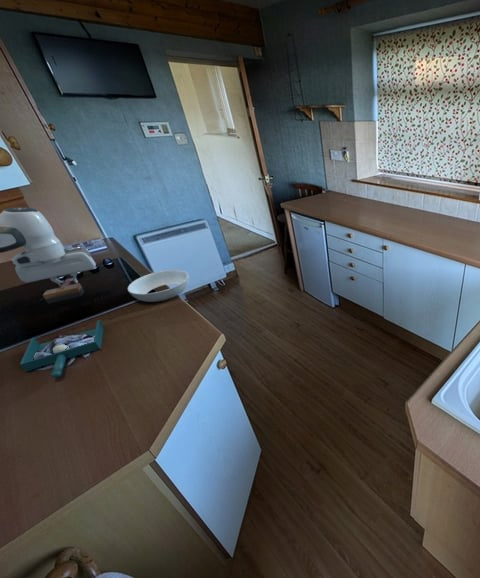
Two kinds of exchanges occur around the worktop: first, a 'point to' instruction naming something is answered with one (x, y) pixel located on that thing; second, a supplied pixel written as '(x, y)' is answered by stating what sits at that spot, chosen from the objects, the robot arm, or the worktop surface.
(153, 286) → the serving bowl
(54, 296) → the brush
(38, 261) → the robot arm
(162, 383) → the worktop surface
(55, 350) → the paper wad
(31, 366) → the dustpan
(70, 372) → the worktop surface
